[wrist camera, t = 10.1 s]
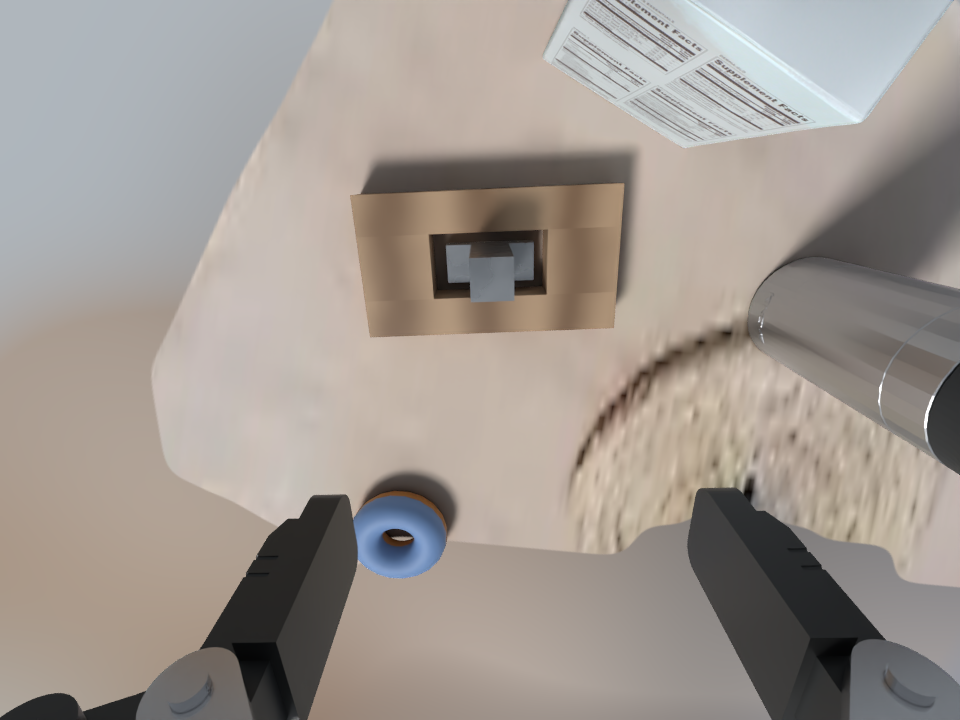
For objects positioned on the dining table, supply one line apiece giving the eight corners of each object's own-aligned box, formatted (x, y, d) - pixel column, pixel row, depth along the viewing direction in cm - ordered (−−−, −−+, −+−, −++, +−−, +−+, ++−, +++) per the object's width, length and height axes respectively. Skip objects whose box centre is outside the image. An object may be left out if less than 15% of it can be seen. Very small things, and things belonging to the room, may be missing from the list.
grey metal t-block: (531, 240, 37) (544, 255, 30) (531, 276, 38) (543, 299, 31) (447, 243, 37) (438, 259, 30) (449, 279, 38) (441, 303, 31)
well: (613, 182, 35) (624, 183, 33) (604, 317, 40) (613, 327, 37) (360, 194, 36) (350, 195, 33) (377, 326, 40) (370, 337, 37)
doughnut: (362, 475, 46) (352, 509, 42) (458, 493, 47) (457, 528, 43) (349, 540, 50) (338, 577, 46) (436, 555, 52) (434, 592, 48)
